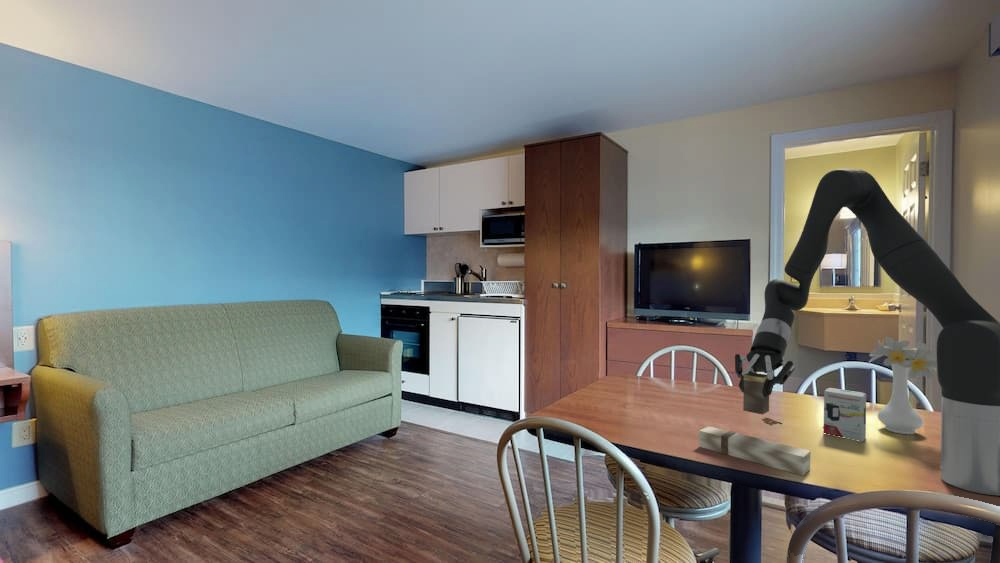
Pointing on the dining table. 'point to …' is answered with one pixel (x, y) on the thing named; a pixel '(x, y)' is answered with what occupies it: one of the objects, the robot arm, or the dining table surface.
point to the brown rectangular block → (755, 393)
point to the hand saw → (770, 422)
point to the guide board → (756, 450)
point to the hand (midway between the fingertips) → (753, 392)
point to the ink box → (845, 413)
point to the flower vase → (903, 382)
